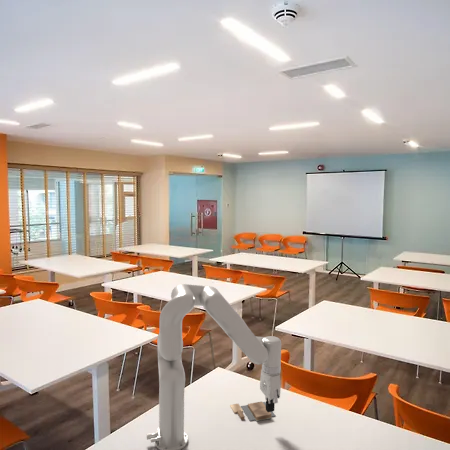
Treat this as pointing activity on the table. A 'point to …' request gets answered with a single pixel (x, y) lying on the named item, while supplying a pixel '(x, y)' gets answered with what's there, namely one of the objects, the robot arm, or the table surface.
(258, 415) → the brown wooden block
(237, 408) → the turner
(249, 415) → the mat
